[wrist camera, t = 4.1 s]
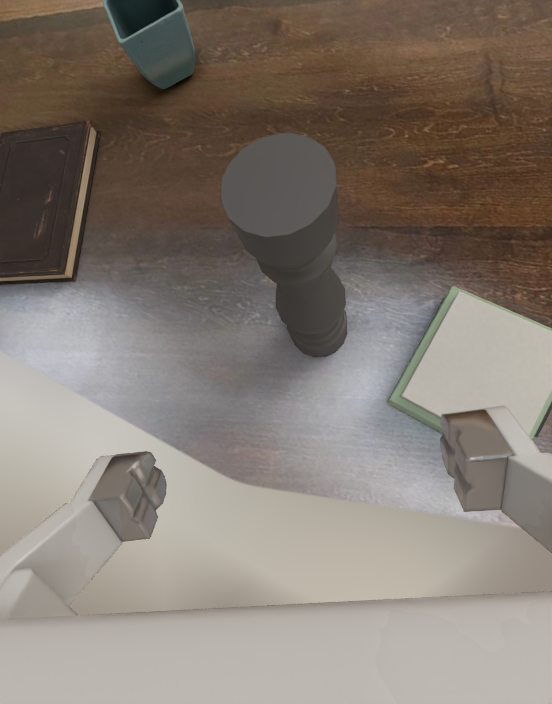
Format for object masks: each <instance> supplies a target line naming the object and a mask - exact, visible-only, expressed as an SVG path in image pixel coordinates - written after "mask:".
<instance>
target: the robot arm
mask: <svg viewBox="0 0 552 704" xmlns="http://www.w3.org/2000/svg"><path fill="white" fill-rule="evenodd" d="M440 426H441V428H442V430H443V433H444V435H443V436H442V437H441V438H440V441H441V452H442V458H443V461H444V464H445V467H446V470H447V472H448V474H449V475H450V476H452V477H453V478H454V489H455V492H456V494H457V496H458V499H459V501H460V503H461V506H462V508H463V510H464V512H468V511H485V510H502V512H503V513H504V514H505V515H507V516H508V517H509V518H510V519H511V520H513V521H514V522H515V523H516V524H517V525H519V526H520V527H521V528H522V529H523V530H525V531H526V532H527V533H528V534H529V535H531V536H532V537H533V538H534V539H535V540H537V541H538V542H539V543H540V544H542V545H543V546H544V547H545V548H546V549H547V550H549V551H550V552H551V553H552V454H550V453H541V452H540V451H539V449H538V448H537V447H536V445H535V444H534V443H533V441H532V440H531V438H530V437H529V436H528V434H527V433H526V432H525V430H524V429H523V427H522V426H521V425H520V423H519V422H518V421H517V419H516V418H515V417H514V415H513V414H512V412H511V411H510V410H509V408H508V407H506V406H497V407H489V408H483V409H476V410H469V411H461V412H454V413H446V414H442V415H441V418H440ZM155 461H156V459H155V458H154V456H153V455H152V453H151V452H136V453H127V454H117V455H111V456H101V457H100V458H98V459H97V460H96V461H95V463H94V464H93V466H92V468H91V469H90V471H89V472H88V474H87V476H86V477H85V479H84V481H83V482H82V484H81V486H80V488H79V489H78V491H77V492H76V494H75V496H74V497H73V499H72V501H71V502H70V503H65V504H64V505H63V506H61V507H60V508H59V509H58V510H56V511H55V512H54V513H53V514H51V515H50V516H49V517H48V518H46V519H45V520H44V521H43V522H41V523H40V524H39V525H38V526H36V527H35V528H34V529H33V530H31V531H30V532H29V533H28V534H26V535H25V536H24V537H22V538H21V539H20V540H19V541H18V542H16V543H15V544H14V545H12V546H11V547H10V548H9V549H7V550H6V551H5V552H4V553H2V554H1V555H0V704H552V591H542V592H541V591H540V592H521V593H502V594H482V595H463V596H445V597H424V598H405V599H387V600H368V601H367V600H366V601H349V602H328V603H308V604H289V605H271V606H252V607H232V608H214V609H194V610H176V611H175V610H174V611H156V612H136V613H116V614H96V615H77V614H76V613H75V612H74V611H73V610H72V609H71V608H70V607H69V605H70V604H71V603H72V602H73V601H74V600H75V598H76V597H77V596H78V595H79V594H80V593H81V591H82V590H83V589H84V588H85V587H86V585H87V584H88V583H89V582H90V580H92V579H93V577H94V576H95V575H96V574H97V573H98V571H99V570H100V569H101V568H102V567H103V566H104V565H105V563H106V562H107V561H108V560H109V559H110V558H111V556H112V555H113V554H114V553H115V552H116V550H117V549H118V548H119V547H120V546H121V545H122V542H124V541H132V540H141V539H150V537H151V534H152V532H153V529H154V526H155V523H156V521H157V518H158V516H157V513H156V511H155V510H156V509H157V508H158V507H159V506H160V505H161V504H163V501H164V498H165V495H166V480H165V476H164V475H163V472H162V471H161V470H160V469H158V468H156V467H155V466H154V464H155Z"/></svg>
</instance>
